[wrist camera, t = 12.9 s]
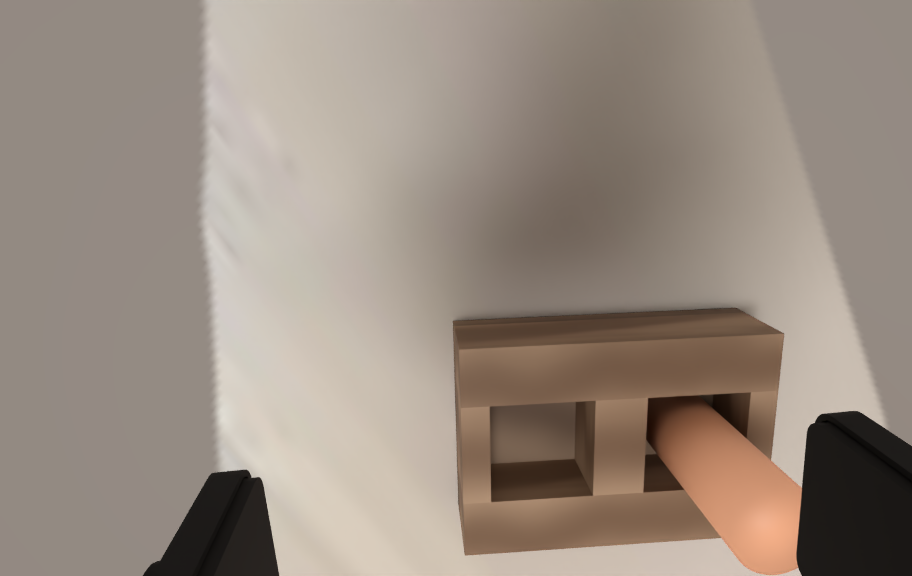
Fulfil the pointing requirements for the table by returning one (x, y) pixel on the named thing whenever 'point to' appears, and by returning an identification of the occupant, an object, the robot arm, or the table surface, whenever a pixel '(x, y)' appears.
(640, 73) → the table surface
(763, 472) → the pin
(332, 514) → the table surface
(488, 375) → the socket block
